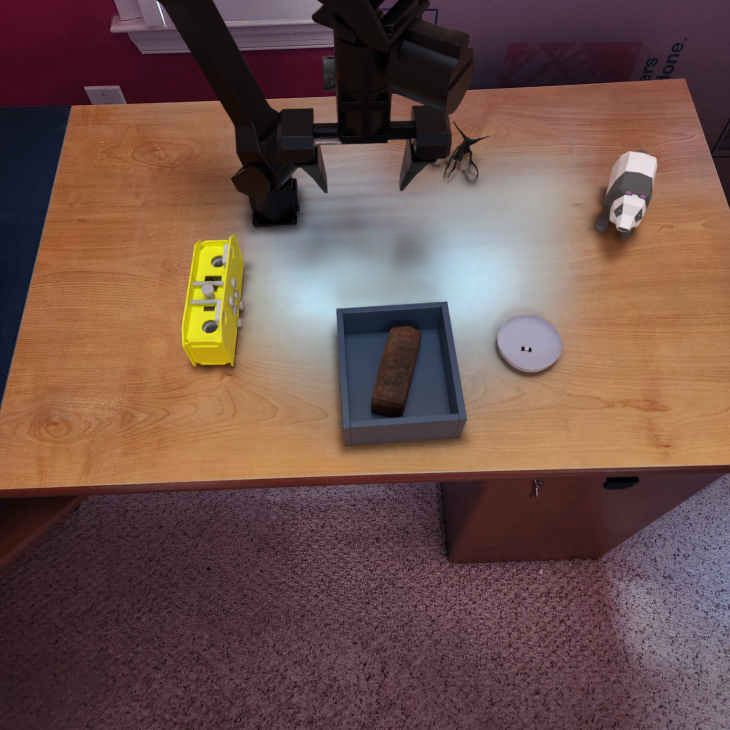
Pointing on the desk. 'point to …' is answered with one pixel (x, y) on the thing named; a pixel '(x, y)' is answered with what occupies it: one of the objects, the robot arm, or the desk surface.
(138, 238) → the desk surface
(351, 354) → the bin
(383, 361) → the brick
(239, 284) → the yellow toy chassis
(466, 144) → the creature
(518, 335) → the pale lavender disc
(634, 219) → the giant panda
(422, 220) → the desk surface
